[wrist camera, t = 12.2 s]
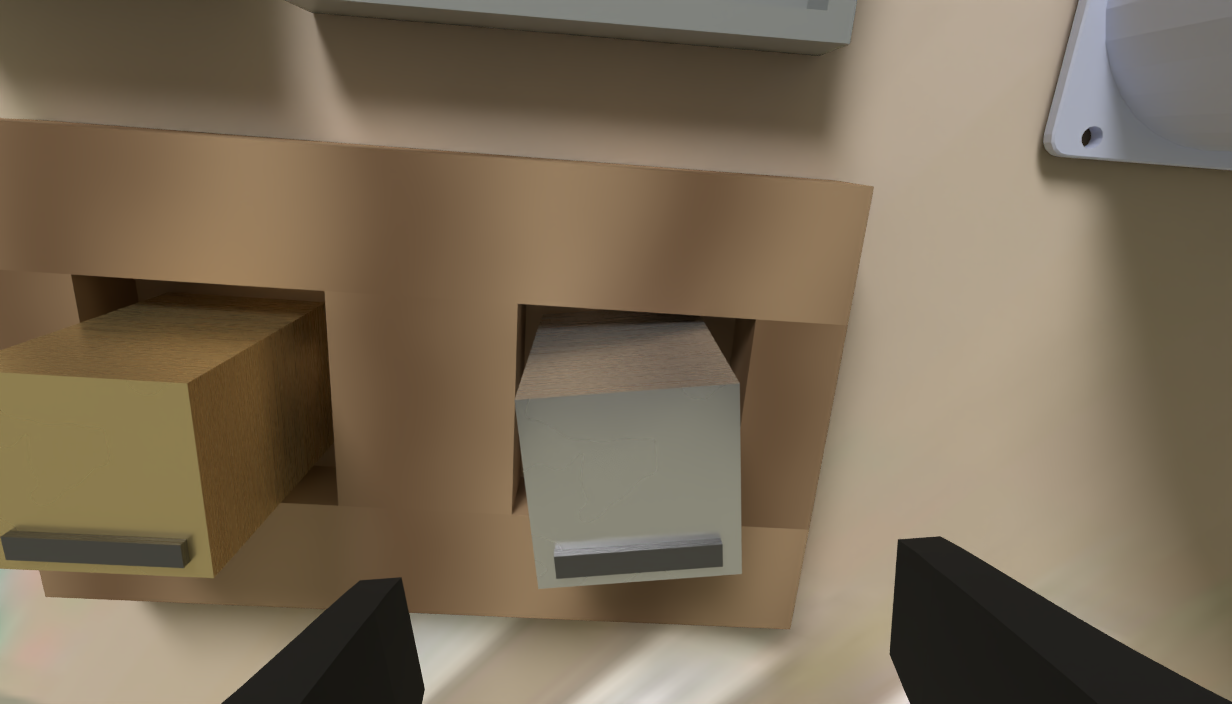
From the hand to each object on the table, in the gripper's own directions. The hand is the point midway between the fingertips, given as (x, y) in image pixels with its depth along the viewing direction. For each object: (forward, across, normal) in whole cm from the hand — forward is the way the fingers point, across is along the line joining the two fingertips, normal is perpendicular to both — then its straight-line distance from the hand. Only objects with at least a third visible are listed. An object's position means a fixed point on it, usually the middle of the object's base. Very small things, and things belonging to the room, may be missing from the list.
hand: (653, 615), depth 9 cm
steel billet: (+9, 0, 0) cm, 9 cm away
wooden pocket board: (+9, +5, -1) cm, 11 cm away
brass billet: (+9, +10, -2) cm, 13 cm away
